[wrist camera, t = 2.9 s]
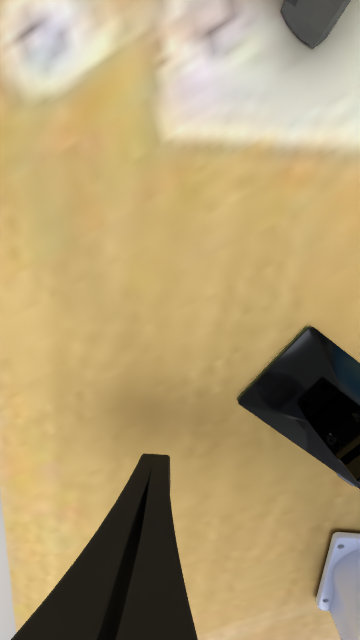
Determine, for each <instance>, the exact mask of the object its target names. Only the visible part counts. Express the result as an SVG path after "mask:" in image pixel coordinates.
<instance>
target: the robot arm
mask: <svg viewBox="0 0 360 640" xmlns="http://www.w3.org/2000/svg"><path fill="white" fill-rule="evenodd" d="M316 604H317V606H318V608H319V609H320V610H324V611H330V613H331V616H332V618H333V620H334V623H335V625H336V628H337V630H338V633H339V635H340V638H341V640H360V534H359V533H346V532H336V533H334V534H333V536H332V540H331V544H330V548H329V552H328V555H327V559H326V563H325V567H324V571H323V575H322V578H321V582H320V586H319V590H318V594H317V597H316ZM11 640H198V639H197V635H196V631H195V627H194V622H193V618H192V614H191V610H190V606H189V602H188V597H187V593H186V588H185V583H184V579H183V574H182V569H181V564H180V559H179V554H178V548H177V543H176V537H175V531H174V524H173V517H172V510H171V501H170V457H169V456H168V455H159V454H143V455H142V456H141V458H140V460H139V462H138V464H137V466H136V468H135V470H134V471H133V473H132V475H131V477H130V479H129V481H128V482H127V484H126V486H125V487H124V489H123V491H122V492H121V494H120V496H119V497H118V499H117V501H116V502H115V504H114V506H113V507H112V509H111V510H110V512H109V513H108V515H107V516H106V518H105V519H104V521H103V522H102V524H101V526H100V527H99V529H98V530H97V531H96V533H95V534H94V536H93V537H92V539H91V540H90V541H89V543H88V544H87V546H86V547H85V548H84V550H83V551H82V552H81V554H80V555H79V557H78V558H77V559H76V561H75V562H74V563H73V565H72V566H71V567H70V568H69V570H68V571H67V572H66V574H65V575H64V576H63V577H62V579H61V580H60V581H59V583H58V584H57V585H56V586H55V588H54V589H53V590H52V591H51V593H50V594H49V595H48V596H47V598H46V599H45V600H44V601H43V602H42V604H41V605H40V606H39V607H38V608H37V610H36V611H35V612H34V613H33V614H32V615H31V617H30V618H29V619H28V620H27V621H26V623H25V624H24V625H23V626H22V627H21V628H20V630H19V631H18V632H17V633H16V634H15V635H14V637H13V638H12V639H11Z"/></svg>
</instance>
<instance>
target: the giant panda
mask: <svg viewBox="0 0 360 640" xmlns="http://www.w3.org/2000/svg"><path fill="white" fill-rule="evenodd" d="M349 2H350V0H285V1H284V4H283V7H282V9H281V13H282V15H283V17H284V18H285V20H286V22H287V24H288V25H289V26H290V27H291V29H292V30H293V31H294V33H295V34H296V35H297V37H298V38H300V39H301V40H302V41H304V42H305V43H306V44H308V45H309V46H311V47H312V48H314V47H315V46H316V45H318V44H319V43H320V42H321V41H323V40H324V39H325V38H326V37H327V36H328V34H329V33H330V31H331V30H332V28H333V27H334V25H335V24H336V22H337V20H338V19H339V17H340V16H341V14H342V13H343V11H344V10H345V8H346V7H347V5H348V3H349Z"/></svg>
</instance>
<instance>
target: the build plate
mask: <svg viewBox="0 0 360 640" xmlns="http://www.w3.org/2000/svg"><path fill="white" fill-rule="evenodd" d="M237 400H238V403H239V404H240V405H241V406H243V407H244V408H245V409H247V410H248V411H250V412H251V413H253V414H254V415H255V416H257V417H258V418H260V419H261V420H262V421H264V422H265V423H267V424H268V425H270V426H271V427H272V428H274V429H275V430H277V431H278V432H280V433H281V434H282V435H284V436H285V437H287V438H288V439H290V440H291V441H292V442H294V443H295V444H297V445H298V446H299V447H301V448H302V449H304V450H305V451H307V452H308V453H309V454H311V455H312V456H314V457H315V458H317V459H318V460H319V461H321V462H322V463H324V464H325V465H326V466H328V467H329V468H331V469H332V470H334V471H335V472H336V473H337V475H338V476H339V477H340V478H342V479H343V480H345V481H346V482H347V483H349V484H350V485H352V486H356V487H358V488H359V489H360V363H359V362H357V361H356V360H355V359H354V358H352V357H351V356H350V355H348V354H347V353H346V352H345V351H343V350H342V349H341V348H340V347H338V346H337V345H336V344H334V343H333V342H332V341H331V340H329V339H328V338H327V337H325V336H324V335H323V334H322V333H320V332H319V331H318V330H316V329H315V328H314V327H311V326H307V327H305V328H304V329H303V330H302V332H301V333H300V334H299V335H298V336H297V337H296V338H295V339H294V340H293V341H292V342H291V343H290V344H289V345H288V346H287V347H286V348H285V349H284V350H283V351H282V352H281V353H280V354H279V355H278V356H277V357H276V359H275V360H274V361H273V362H272V363H271V364H270V365H269V366H268V367H267V368H266V369H265V370H264V371H263V372H262V373H261V374H260V375H259V376H258V377H257V378H256V379H255V380H254V381H253V382H252V383H251V384H250V385H249V387H248V388H247V389H246V390H245V391H244V392H243V393H242V394H241V395H240V396H239V397H238V399H237Z"/></svg>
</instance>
